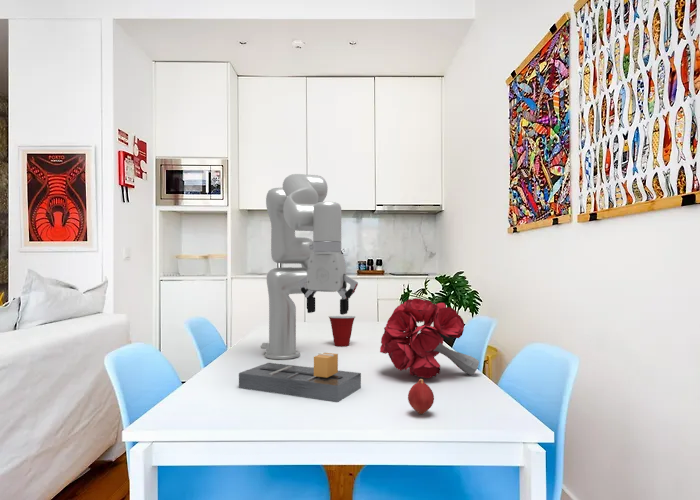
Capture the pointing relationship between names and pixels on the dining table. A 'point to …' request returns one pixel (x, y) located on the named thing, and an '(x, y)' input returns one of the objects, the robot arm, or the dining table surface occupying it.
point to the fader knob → (325, 364)
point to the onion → (420, 397)
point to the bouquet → (424, 338)
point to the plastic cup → (341, 329)
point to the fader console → (300, 382)
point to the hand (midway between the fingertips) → (327, 313)
